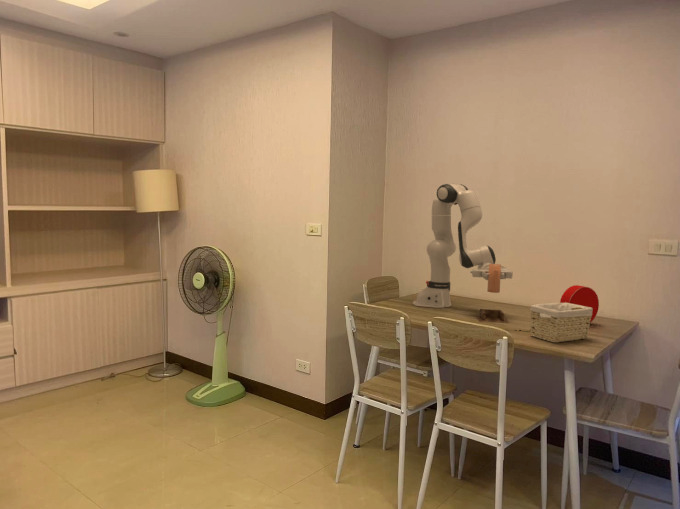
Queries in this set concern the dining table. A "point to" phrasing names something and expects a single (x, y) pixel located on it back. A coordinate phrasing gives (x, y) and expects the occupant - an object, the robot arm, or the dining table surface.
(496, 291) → the orange rectangular block
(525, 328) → the dining table surface
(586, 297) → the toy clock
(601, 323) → the dining table surface
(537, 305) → the storage basket
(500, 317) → the walnut stand
